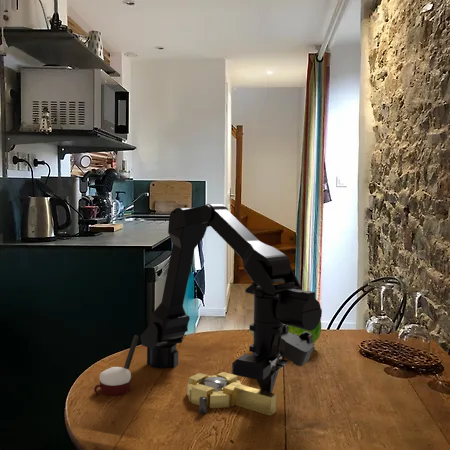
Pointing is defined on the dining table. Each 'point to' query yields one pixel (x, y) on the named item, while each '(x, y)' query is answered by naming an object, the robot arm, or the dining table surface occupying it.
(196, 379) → the wooden ring wrench
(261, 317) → the robot arm
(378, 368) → the dining table surface
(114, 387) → the cocoa
